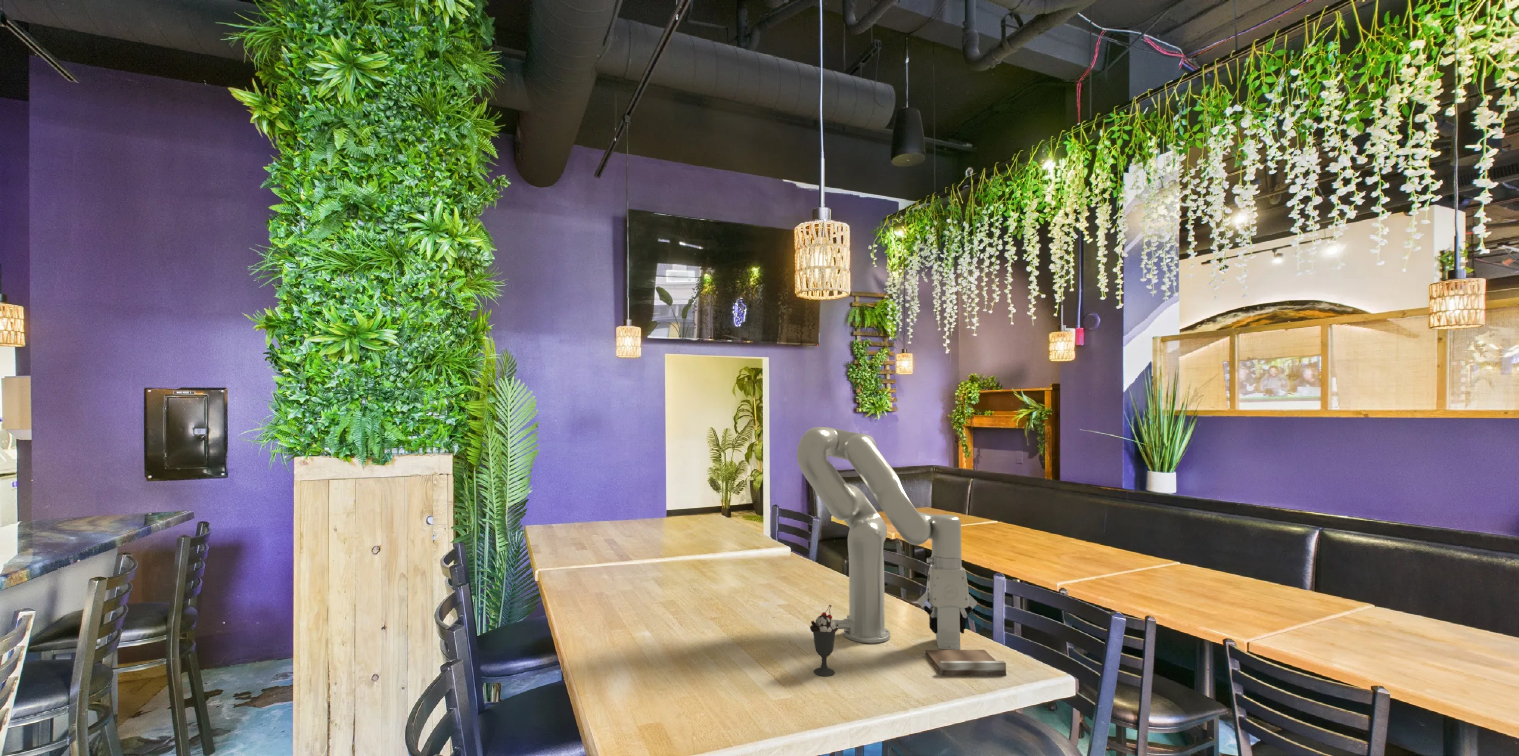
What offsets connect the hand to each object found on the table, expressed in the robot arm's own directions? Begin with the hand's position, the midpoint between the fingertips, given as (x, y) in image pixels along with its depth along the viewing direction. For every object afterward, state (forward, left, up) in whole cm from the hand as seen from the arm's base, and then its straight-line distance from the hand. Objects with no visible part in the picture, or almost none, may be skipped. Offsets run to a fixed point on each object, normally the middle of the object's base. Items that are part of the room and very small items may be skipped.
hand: (947, 631), depth 164 cm
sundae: (-35, -18, -4) cm, 40 cm away
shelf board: (0, -14, -3) cm, 14 cm away
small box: (0, 0, -4) cm, 4 cm away
